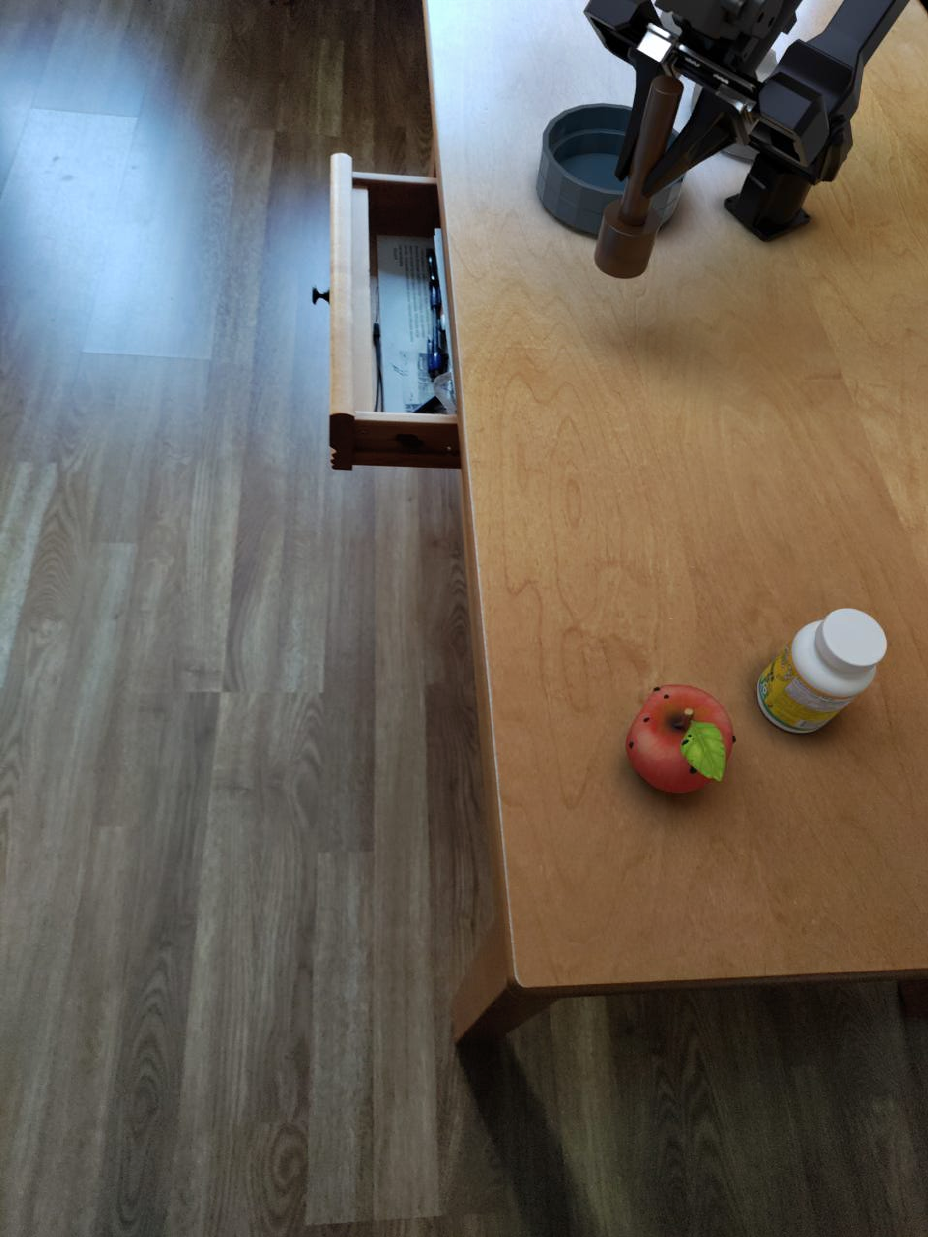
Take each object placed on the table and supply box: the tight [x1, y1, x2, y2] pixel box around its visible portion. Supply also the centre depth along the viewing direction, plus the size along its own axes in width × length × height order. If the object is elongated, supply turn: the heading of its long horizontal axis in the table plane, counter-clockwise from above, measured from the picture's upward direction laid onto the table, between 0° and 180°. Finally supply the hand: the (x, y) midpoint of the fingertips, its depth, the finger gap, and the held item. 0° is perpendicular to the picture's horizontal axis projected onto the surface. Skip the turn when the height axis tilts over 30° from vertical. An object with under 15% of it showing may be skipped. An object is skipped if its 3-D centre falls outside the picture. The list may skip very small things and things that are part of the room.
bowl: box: [535, 102, 688, 237], centre depth 84 cm, size 14×14×5 cm
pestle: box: [593, 75, 685, 280], centre depth 63 cm, size 4×4×14 cm
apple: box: [625, 683, 737, 794], centre depth 53 cm, size 8×7×10 cm
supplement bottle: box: [756, 607, 888, 734], centre depth 56 cm, size 5×5×10 cm
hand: (630, 187), depth 63 cm, fingers closed on pestle, 2 cm apart
